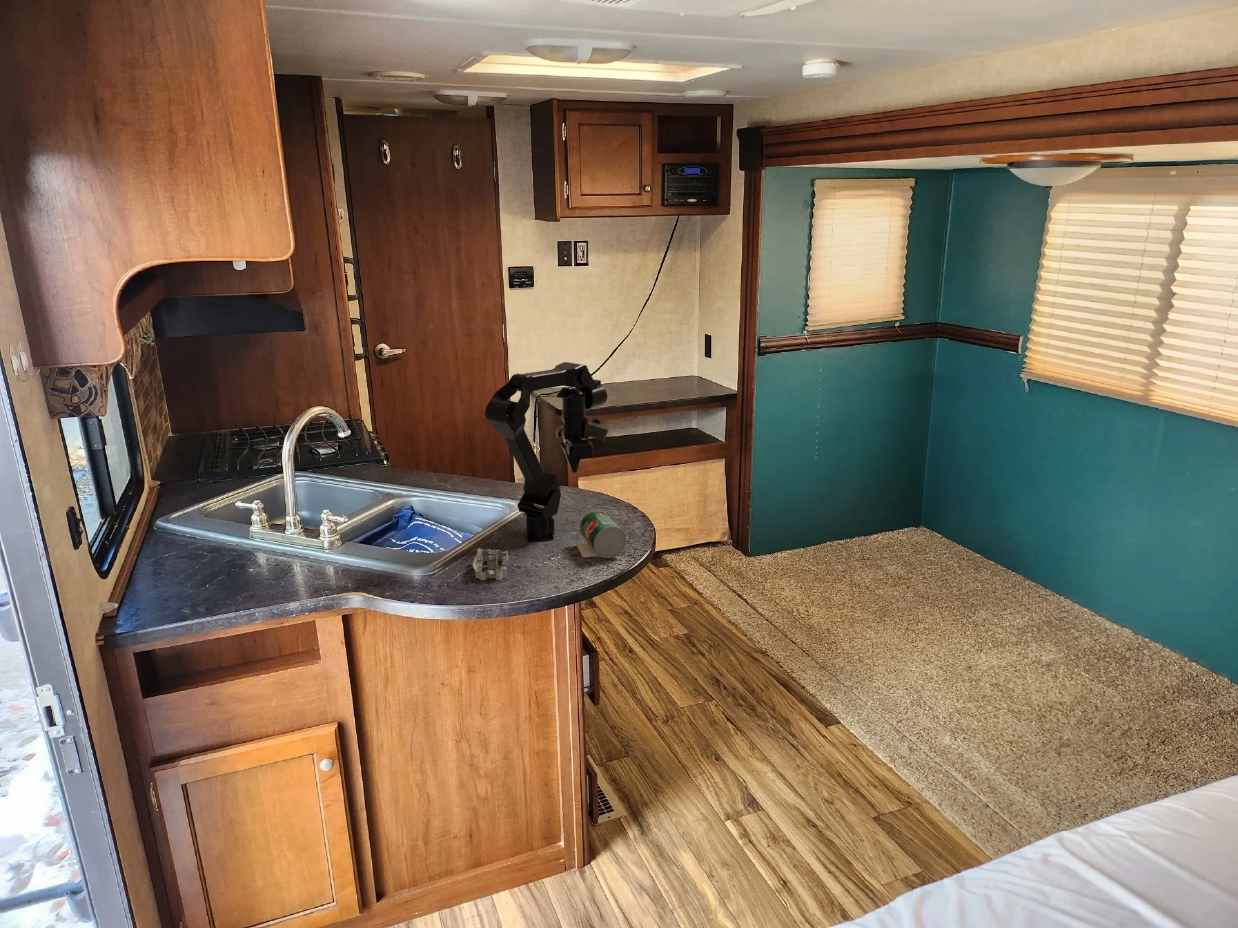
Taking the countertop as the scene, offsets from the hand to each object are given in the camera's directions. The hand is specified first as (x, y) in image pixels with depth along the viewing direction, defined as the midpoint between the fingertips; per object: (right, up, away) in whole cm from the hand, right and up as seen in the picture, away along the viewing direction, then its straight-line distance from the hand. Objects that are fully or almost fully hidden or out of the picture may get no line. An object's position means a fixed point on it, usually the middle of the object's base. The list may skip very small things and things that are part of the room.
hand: (574, 472), depth 213 cm
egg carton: (-17, -22, -26) cm, 38 cm away
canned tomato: (+6, -13, -11) cm, 18 cm away
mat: (+6, -18, -15) cm, 24 cm away
